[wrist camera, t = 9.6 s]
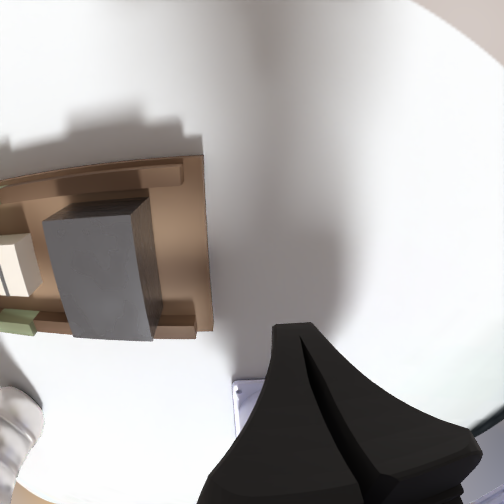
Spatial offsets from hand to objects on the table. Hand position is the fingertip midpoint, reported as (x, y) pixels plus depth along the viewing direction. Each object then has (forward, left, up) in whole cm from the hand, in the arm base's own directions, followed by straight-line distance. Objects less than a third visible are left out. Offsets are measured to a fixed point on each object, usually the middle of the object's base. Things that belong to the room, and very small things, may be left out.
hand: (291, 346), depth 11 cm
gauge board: (0, +14, -9) cm, 16 cm away
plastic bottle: (-17, +26, -10) cm, 32 cm away
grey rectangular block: (0, +9, -8) cm, 12 cm away
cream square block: (0, +17, -8) cm, 19 cm away
